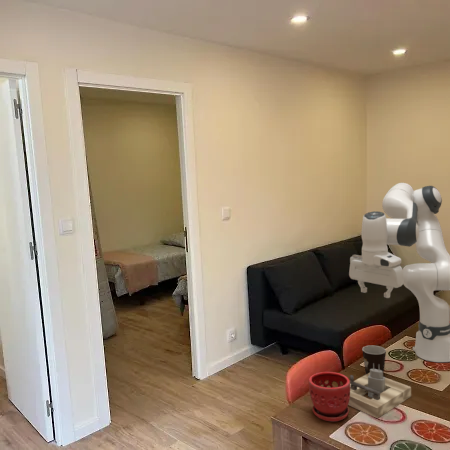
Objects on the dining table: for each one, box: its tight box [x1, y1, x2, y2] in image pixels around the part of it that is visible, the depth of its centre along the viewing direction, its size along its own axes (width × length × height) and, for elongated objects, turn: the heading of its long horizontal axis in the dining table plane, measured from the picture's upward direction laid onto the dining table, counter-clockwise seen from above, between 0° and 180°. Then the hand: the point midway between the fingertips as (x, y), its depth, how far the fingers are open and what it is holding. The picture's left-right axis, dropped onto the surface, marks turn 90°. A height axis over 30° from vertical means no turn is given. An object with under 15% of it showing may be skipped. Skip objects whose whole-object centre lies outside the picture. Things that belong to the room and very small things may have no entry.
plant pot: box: [308, 371, 350, 422], centre depth 147 cm, size 13×13×12 cm
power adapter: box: [367, 363, 386, 399], centre depth 156 cm, size 3×5×12 cm, turn 56°
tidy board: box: [348, 373, 412, 419], centre depth 155 cm, size 20×16×8 cm
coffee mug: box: [361, 345, 387, 375], centre depth 174 cm, size 12×9×10 cm
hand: (375, 294), depth 163 cm, fingers open, 8 cm apart
